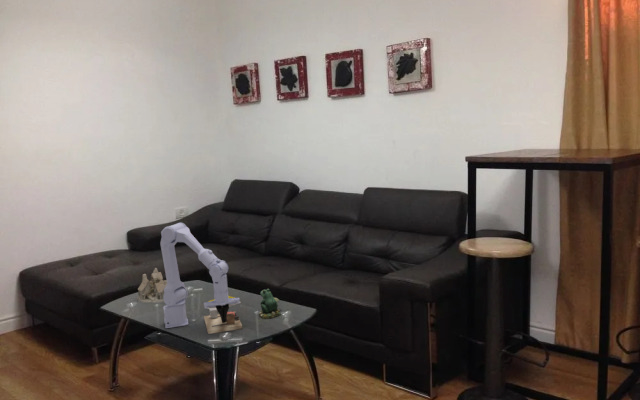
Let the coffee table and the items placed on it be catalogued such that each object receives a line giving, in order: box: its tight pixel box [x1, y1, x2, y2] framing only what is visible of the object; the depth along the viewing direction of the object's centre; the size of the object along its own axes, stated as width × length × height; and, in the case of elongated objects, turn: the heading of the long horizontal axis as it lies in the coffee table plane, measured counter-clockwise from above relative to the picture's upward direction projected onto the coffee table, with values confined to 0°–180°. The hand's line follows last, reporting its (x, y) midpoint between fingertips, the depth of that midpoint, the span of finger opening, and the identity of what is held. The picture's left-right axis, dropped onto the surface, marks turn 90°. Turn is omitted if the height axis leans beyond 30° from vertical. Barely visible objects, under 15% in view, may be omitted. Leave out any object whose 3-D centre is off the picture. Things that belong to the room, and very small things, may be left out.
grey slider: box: [208, 308, 218, 318], centre depth 238 cm, size 3×3×4 cm
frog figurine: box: [256, 288, 282, 322], centre depth 242 cm, size 18×18×12 cm
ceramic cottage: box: [136, 267, 167, 303], centre depth 273 cm, size 16×16×15 cm
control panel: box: [203, 311, 243, 335], centre depth 234 cm, size 14×18×3 cm
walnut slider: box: [226, 313, 235, 324], centre depth 229 cm, size 3×3×4 cm
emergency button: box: [206, 295, 242, 310], centre depth 258 cm, size 9×4×15 cm
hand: (223, 321), depth 229 cm, fingers closed
